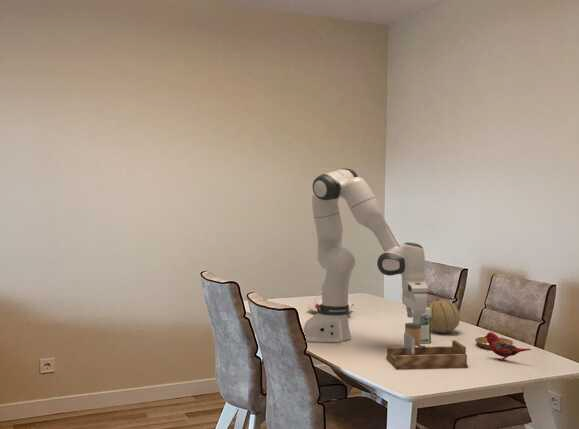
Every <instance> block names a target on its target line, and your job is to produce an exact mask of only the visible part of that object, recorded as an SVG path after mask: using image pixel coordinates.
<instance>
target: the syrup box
mask: <svg viewBox="0 0 579 429" xmlns="http://www.w3.org/2000/svg"><path fill="white" fill-rule="evenodd" d="M412 313H413V317H412V323H416V322H415V311H414V310H412ZM418 324H421V343H420V344H431V343H432V328H431V308H429V306H427V307H426V311H425V313H421V318H420V323H418Z"/></svg>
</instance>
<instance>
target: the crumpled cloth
mask: <svg viewBox="0 0 579 429" xmlns="http://www.w3.org/2000/svg"><path fill="white" fill-rule="evenodd" d="M316 304H319V305H321V304H322V294H320V295H317V296H316V298H315V299H314V300H313V301H312V302H311V303H310V304H308V305H307V309H308V310H310V311H314V312H316V313H318V312H317V309H316V308H315V305H316ZM348 305H349V310H351V309H352V307H354V306H355V304H354V303H353V302H352V301H350V300H348Z"/></svg>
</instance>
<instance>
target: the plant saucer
mask: <svg viewBox="0 0 579 429" xmlns="http://www.w3.org/2000/svg"><path fill="white" fill-rule="evenodd" d="M499 338H500V339H501V340H503V341H505V342H508V343H510V344H512V345H513V344H514V342H513V341H512V340H511V339H508V338H505V337H499ZM474 341H475V343H476V344H477V345H478V346H479V347H480V346H481V347H480V348H482V347H483V349H485V348H487V349H486V350H491V348H490V346H489V345H487V344H486V343H488V341H487V338H486V337H485V336H480V337H476V338H475V339H474ZM483 343H484V344H483Z"/></svg>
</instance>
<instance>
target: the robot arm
mask: <svg viewBox="0 0 579 429" xmlns="http://www.w3.org/2000/svg"><path fill="white" fill-rule="evenodd" d="M312 192H313V194H312V196H311V200H312V202H311V204H312V214H313V220H314V224H315V230H316V236H317V254H316V257H317V259H316V260H317V261H318V263H319V265H320V266H321V267H322V268H323V269H324V270H325V271H326V272H325V276H324V277H325V278H324V282H323V283H322V287H321V295H322V304H321V305H319V304H316V305H315V308H316V309H317V312H316V313H315V314H314V315H312V317H311V316H310V318H309V319H307V320H305V323H304V326H303V331H304V333H305V336H306V340H307V341H306V343H308V342H311V343H313V342H314V343H315V342H316V343H342V342H344V341H349V340H351V338H352V335H351V331H350V325H349V317H350V309H349V305H348V301H349V285H350V280H351V276H352V275H351V274H352V271H353V269H354V267H355V265H356V258H355V256H354V255H353V253H352V252H351V251H350V250H348V249H347V248H344V247H343V243H342V242H343V239H342V238H343V237H342V236H343V231H344V229H343V228H344V227H343V223H342V217H341V213H340V209H339V199H340V198H342V199H344V200H345V201H346V204H347V205H348V209H349V210H350V212H351V214H352V216H353V217H354V219H355V220H356V222H357V223H358V224H359V225H361V226H363V227H365V228H367V229H368V230H370V231H371V232H372V233H373V234H374V236H375V237H376V239H377V241H378V243H379V244H380V247H382V250H383V253H381V254H380V255H379V257H378V258H377V262H376V263H377V264H376V265H377V269H378V270H379V272H380V273H381V274H382V275H385V276H389V277H390V276H395V275H401V289H402V291H401V292H402V293H401V294H402V295H401V301H402V304H403V305H405V309H406V314H407V315H406V316H407V317H408V318H410V319H413V310H414V311H415V322H416V323H420V318H421V313H425V311H426V307H428V306H427V303H428V295H427V293H428V292H429V286H428V285H427V283H426V275H425V267H426V258H425V250H424V247H423V246H422V245H421V244H419V243H416V242H409V241H408V242H403V244H401V245H400V244H399V243H398V242H397V239H396V238H395V236H394V234H393V232H392V231H391V229H390V226H389V225H388V223H387V221H386V219H385V217H384V214H383V212H382V210H381V207H380V205H379V202H378V200H377V199H376V196H375V194H374V192H373V190H372V189H371V187H370V186H369V185H368V183H367V182H366V181H365V179H364V178H363V177H360V176H358V174H357V173H356V172H355V171H354V170H353V169H351V168H341V169H336V170H331V171H329V172H326V173H323V174H320V175H318V176H317V177H316V178H314V180H313V182H312Z"/></svg>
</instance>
